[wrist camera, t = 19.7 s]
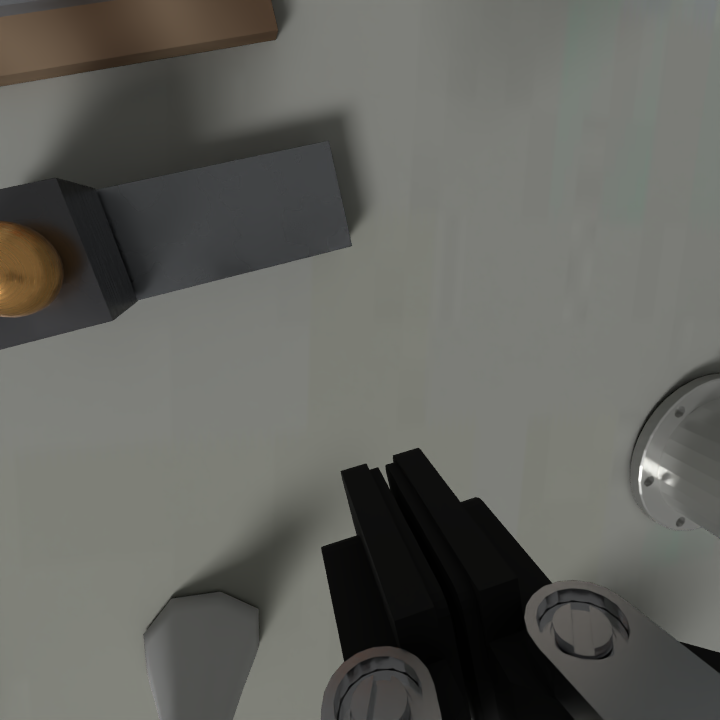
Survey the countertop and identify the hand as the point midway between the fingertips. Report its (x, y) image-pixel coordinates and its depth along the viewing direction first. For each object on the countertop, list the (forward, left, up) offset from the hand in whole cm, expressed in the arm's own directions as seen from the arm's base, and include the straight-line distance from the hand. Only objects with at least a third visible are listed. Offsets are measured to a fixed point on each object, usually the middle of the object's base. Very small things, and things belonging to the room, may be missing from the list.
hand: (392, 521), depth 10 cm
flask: (+11, +17, -18) cm, 27 cm away
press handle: (+9, -7, -16) cm, 19 cm away
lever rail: (+4, -7, -18) cm, 20 cm away
